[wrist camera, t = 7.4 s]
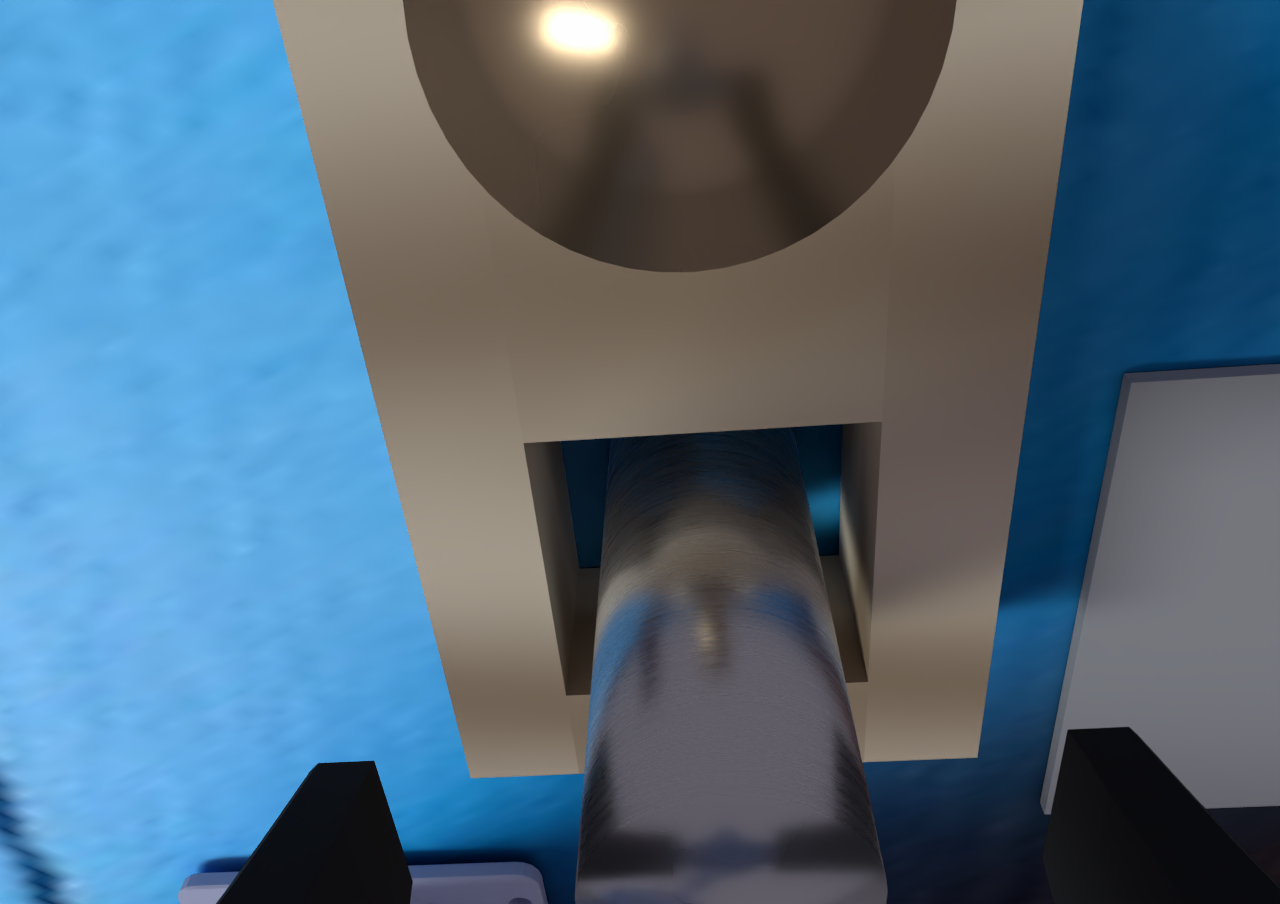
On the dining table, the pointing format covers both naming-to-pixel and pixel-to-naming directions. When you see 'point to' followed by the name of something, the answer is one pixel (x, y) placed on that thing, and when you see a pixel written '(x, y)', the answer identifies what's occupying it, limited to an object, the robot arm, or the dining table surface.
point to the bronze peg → (677, 114)
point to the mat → (1186, 585)
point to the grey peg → (719, 689)
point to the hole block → (700, 376)
